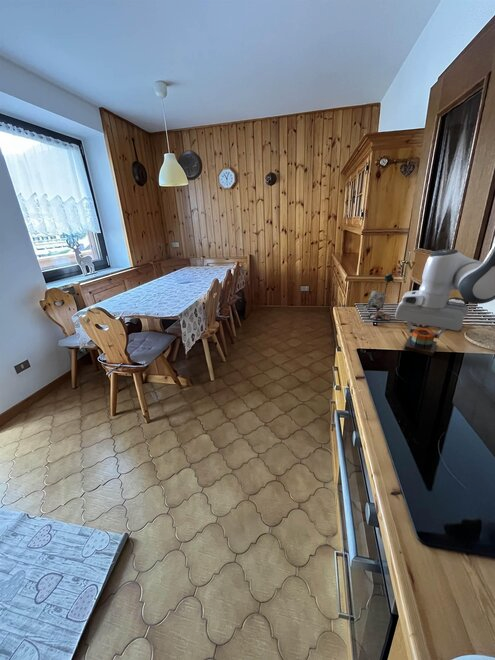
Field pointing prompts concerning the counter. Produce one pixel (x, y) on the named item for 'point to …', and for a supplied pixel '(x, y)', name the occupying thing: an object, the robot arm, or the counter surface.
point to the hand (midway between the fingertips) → (423, 334)
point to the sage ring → (422, 341)
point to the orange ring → (423, 334)
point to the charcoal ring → (420, 345)
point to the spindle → (419, 350)
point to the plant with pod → (379, 301)
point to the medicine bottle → (457, 301)
